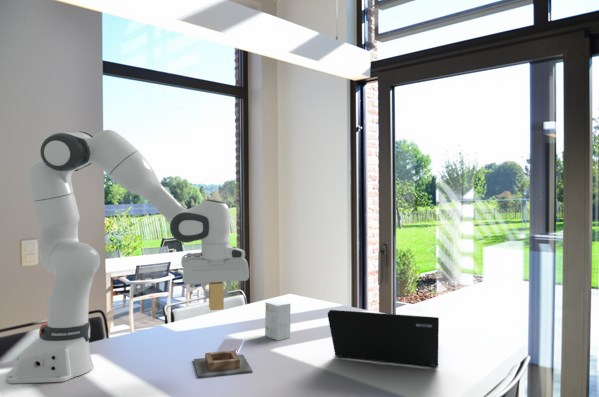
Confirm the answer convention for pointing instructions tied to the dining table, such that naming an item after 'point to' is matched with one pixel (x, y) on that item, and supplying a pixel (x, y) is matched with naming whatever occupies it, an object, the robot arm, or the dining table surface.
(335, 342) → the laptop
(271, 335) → the small box
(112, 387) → the dining table surface
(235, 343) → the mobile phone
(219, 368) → the socket board
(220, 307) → the plug block
